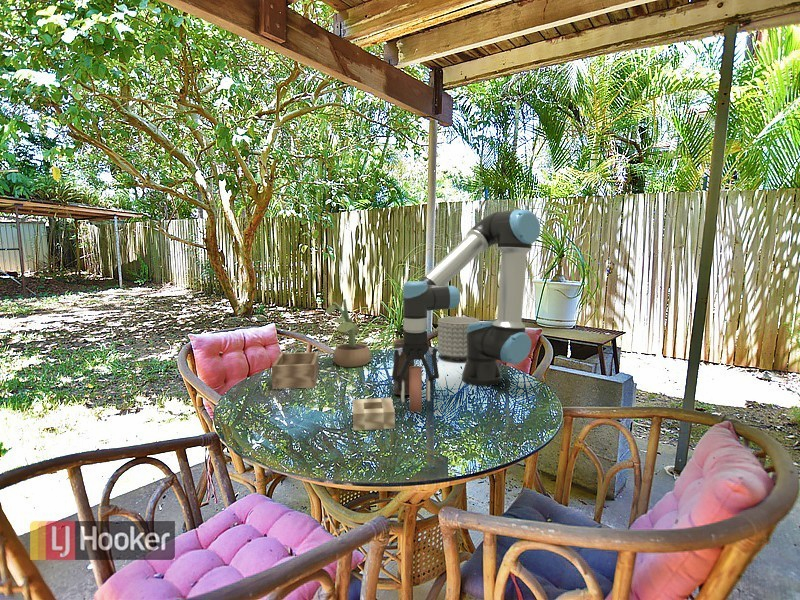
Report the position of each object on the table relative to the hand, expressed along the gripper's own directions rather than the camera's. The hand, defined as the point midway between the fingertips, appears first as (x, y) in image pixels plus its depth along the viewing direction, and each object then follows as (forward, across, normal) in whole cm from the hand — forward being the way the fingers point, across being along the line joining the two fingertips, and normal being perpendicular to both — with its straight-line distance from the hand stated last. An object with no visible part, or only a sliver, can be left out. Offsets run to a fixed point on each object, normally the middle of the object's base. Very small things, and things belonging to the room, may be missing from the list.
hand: (415, 400), depth 144 cm
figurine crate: (+3, +42, -36) cm, 55 cm away
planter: (+3, -29, -63) cm, 69 cm away
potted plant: (+3, +22, -58) cm, 62 cm away
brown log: (+3, +2, -15) cm, 16 cm away
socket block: (+3, +14, +8) cm, 16 cm away
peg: (+3, 0, 0) cm, 3 cm away
